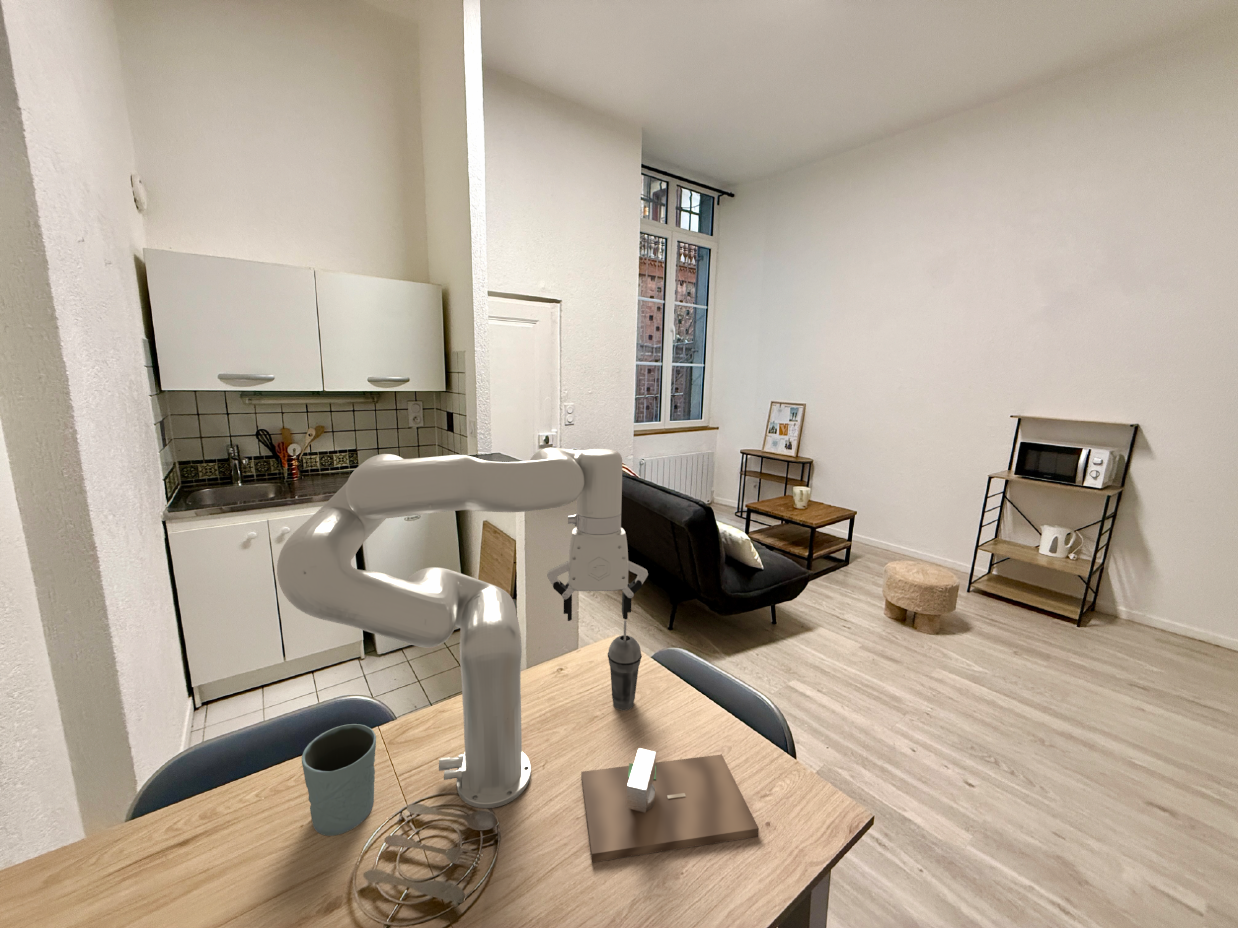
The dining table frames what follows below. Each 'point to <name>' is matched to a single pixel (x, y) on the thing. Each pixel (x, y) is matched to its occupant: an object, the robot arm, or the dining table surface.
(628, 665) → the beverage cup
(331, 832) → the blue-grey open cylinder
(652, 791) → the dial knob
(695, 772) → the board
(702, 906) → the dining table surface
